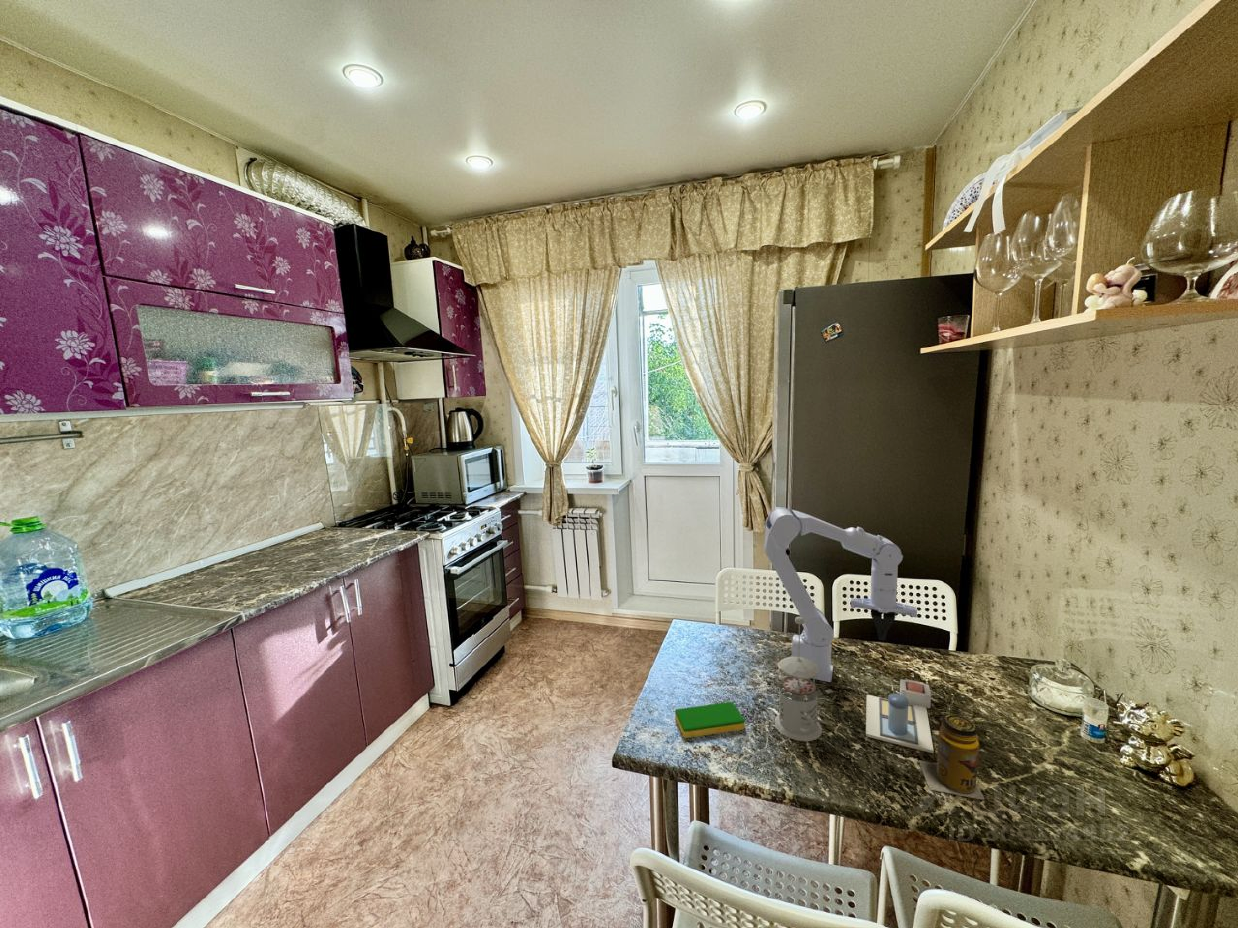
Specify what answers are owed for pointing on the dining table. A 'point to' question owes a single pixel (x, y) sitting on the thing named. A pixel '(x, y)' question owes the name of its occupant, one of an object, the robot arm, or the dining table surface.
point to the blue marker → (898, 714)
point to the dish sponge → (709, 719)
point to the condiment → (955, 759)
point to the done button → (915, 687)
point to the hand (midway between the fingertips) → (881, 638)
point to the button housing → (916, 694)
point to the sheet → (879, 730)
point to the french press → (798, 698)
